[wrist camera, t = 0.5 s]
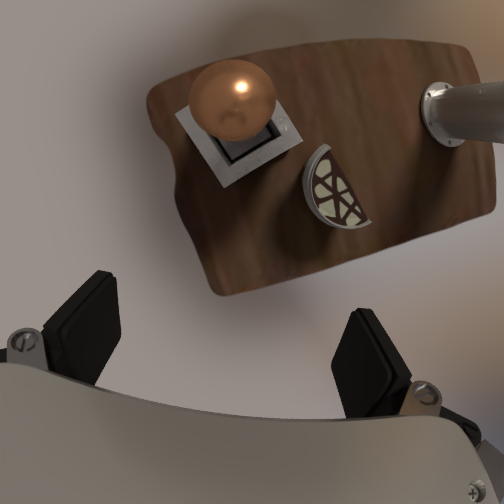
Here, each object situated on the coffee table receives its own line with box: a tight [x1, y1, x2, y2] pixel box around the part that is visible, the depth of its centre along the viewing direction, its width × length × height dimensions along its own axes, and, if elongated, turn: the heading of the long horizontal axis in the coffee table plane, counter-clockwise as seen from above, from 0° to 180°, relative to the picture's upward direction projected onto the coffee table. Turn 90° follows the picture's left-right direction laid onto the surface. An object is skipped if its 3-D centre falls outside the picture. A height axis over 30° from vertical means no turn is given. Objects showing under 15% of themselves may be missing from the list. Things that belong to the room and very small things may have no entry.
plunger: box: [189, 60, 276, 160], centre depth 21 cm, size 5×5×20 cm
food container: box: [301, 144, 372, 229], centre depth 38 cm, size 12×6×10 cm, turn 34°
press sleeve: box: [175, 99, 303, 188], centre depth 31 cm, size 9×12×14 cm
